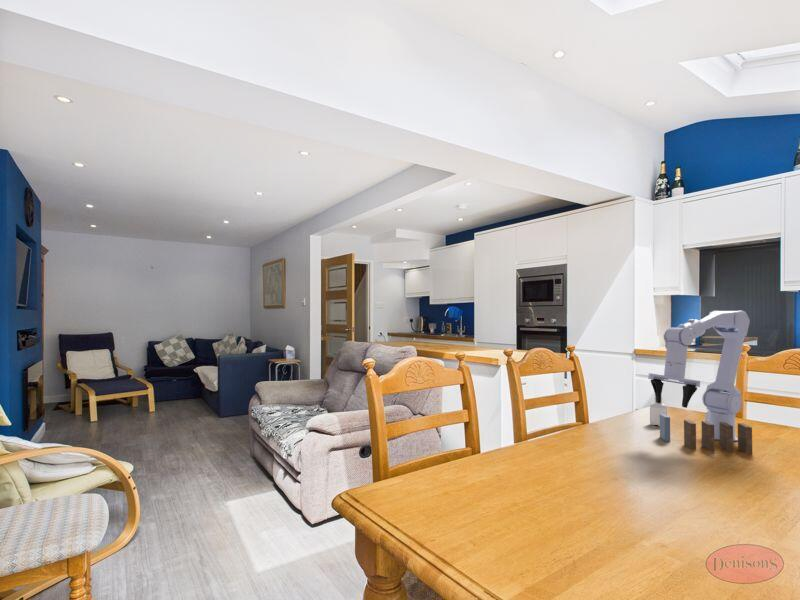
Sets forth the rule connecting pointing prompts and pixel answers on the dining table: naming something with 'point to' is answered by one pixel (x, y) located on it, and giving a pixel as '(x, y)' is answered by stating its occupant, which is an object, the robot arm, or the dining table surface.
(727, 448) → the domino
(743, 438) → the domino
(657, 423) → the eye dropper bottle
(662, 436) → the domino
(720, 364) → the robot arm
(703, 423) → the domino
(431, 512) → the dining table surface
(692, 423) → the domino
